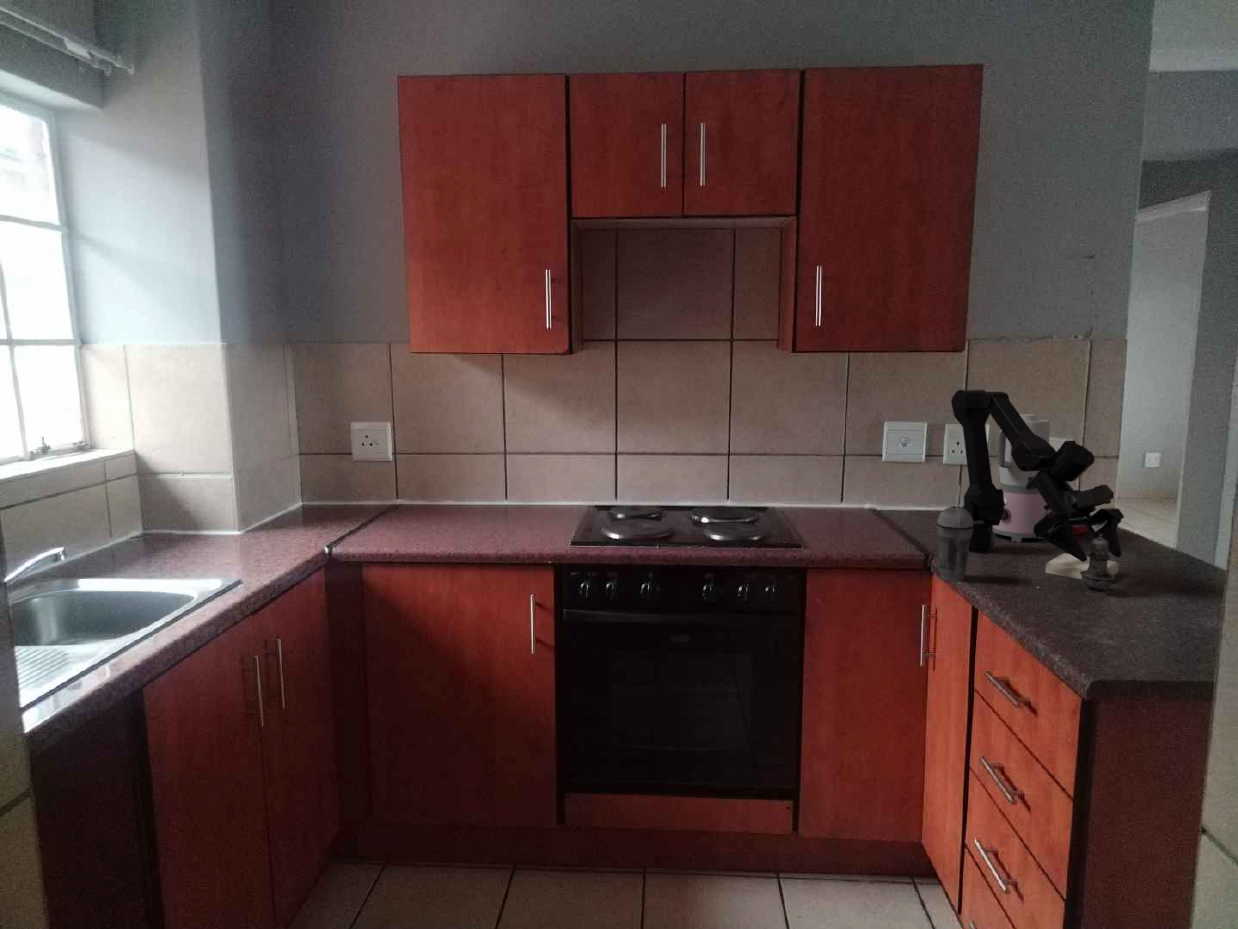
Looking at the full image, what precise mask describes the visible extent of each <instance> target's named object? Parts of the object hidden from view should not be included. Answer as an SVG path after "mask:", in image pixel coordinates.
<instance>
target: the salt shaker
mask: <svg viewBox="0 0 1238 929" xmlns="http://www.w3.org/2000/svg"><path fill="white" fill-rule="evenodd" d="M1090 545H1091V547H1090V553H1088V556H1087V557H1090V562H1089V567H1088V569H1087V570H1086V571H1081V572H1080V574H1081V575H1082V579H1081V580H1082V582H1083V583H1084V585H1086V586H1083V587H1081V588H1080V592H1082V593H1083V594H1085V595H1086V594H1087V595H1090V596H1096V597H1109V596H1112V592H1111V591H1109V590H1108V589H1107V588H1109V587H1110V586H1111V585H1112V584H1113V580H1114V579H1115V576H1116V575H1114V576H1113V575H1112V574H1109V573H1108V570H1107V562H1108V560H1110V558H1111V557H1110V556H1109V551H1108V546H1109V543H1108V541H1107V540H1106V539H1103V538H1102V534H1100V535H1099V537H1098V538H1093V539H1092V540H1091V544H1090Z"/></svg>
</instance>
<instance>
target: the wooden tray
mask: <svg viewBox="0 0 1238 929" xmlns="http://www.w3.org/2000/svg"><path fill="white" fill-rule="evenodd" d="M1086 557H1087V560H1086V561H1085V562H1082V561H1080V560H1078V559H1077V558H1075V557H1074V556H1072V555H1070V554H1069V553H1067V552H1065V553H1064V552H1063V553H1060V555H1058V556H1056V557H1054V558H1053V559H1051V560H1049V561H1048V562H1045V572H1044V573H1046V574H1051V575H1055V576H1056V575H1057V576H1062V577H1067V578H1071V579H1077V580H1082V575H1081V574H1080V572H1081V571H1086V570H1087V569H1088V567H1089V562H1090V557H1089V556H1086ZM1107 570H1108V573H1109V574H1112V575H1113V576H1116V575H1117V574H1118V573H1119V563H1117V561H1114V560H1113V561H1112V560H1110V559H1108V562H1107Z"/></svg>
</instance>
